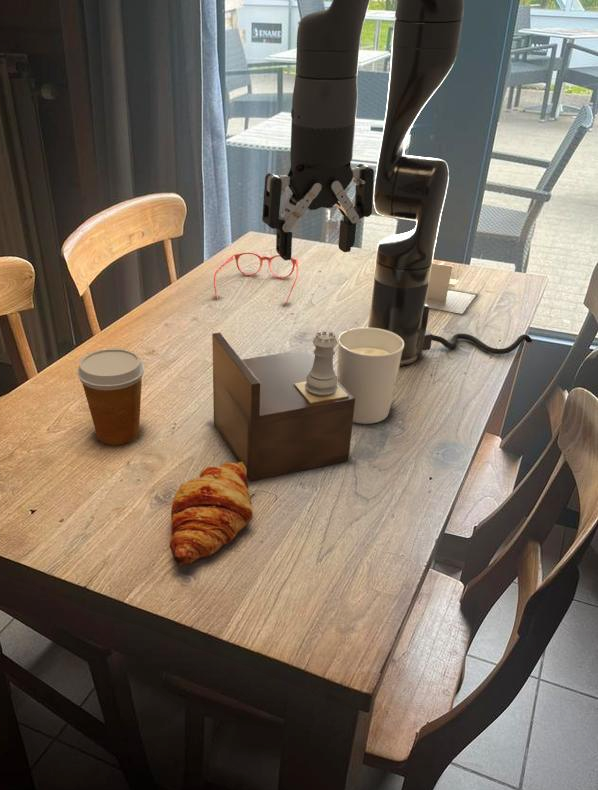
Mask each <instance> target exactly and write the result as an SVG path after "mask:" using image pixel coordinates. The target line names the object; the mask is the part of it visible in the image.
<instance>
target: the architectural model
mask: <svg viewBox="0 0 598 790" xmlns="http://www.w3.org/2000/svg"><path fill="white" fill-rule="evenodd" d="M444 263H445V261H442V262H441V263H435V262H432V266H431V273H430V279H429V285H428V291H427V297H426V305H427V306H428V307H429V309H430V308H431V309H435V310H439V311H440V310H441V311H445V312H450V313H456V314H460V315H463V313H465V311H466V309H467V308H468V306H469V305H470V304H471V302H472V301H473V300H474V299H475V297H476V294H472V293H466V292H461V291H455V290H449V287H453V288H455V287H456V286H457V285H458V283H459V282H460V280H459V279H456V278H455V279H454V278H451V276H452V270H453V265H447V264H444Z"/></svg>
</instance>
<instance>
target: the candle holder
mask: <svg viewBox="0 0 598 790" xmlns="http://www.w3.org/2000/svg"><path fill="white" fill-rule="evenodd" d="M403 349H404V341H403V339H402V338H401V337H400V336H398V335H397V334H395V333H393V332H390V331H387V330H384V329H379V328H369V327H368V326H367V327H366V326H365V327H364V326H363V327H355V328H350V329H347V330H345V331H343V332H342V333H340V334H339V336H338V337H337V365H336V376H337V381H338V382H339V383H340V384H341V385H342V386H343V387H344V388H345V389H346V390H347V391H348V392H349V393H350V394H351V395H352V396H353V397H354V398H355V406H354V415H353V423H356V424H361V425H362V424H363V425H369V424H370V425H371V424H376V423H380V422H382V421H384V420H385V419H387V417H388V416H389V415H390V411H391V407H392V404H393V403H392V402H393V398H394V394H395V388H396V383H397V380H398V374H399V369H400V366H399V365H400V361H401V356H402V352H403Z"/></svg>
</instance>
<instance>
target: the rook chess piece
mask: <svg viewBox="0 0 598 790" xmlns="http://www.w3.org/2000/svg"><path fill="white" fill-rule="evenodd" d="M312 344H313V346H314V347H315V349H314V350H313V351H312V352H313V354H314V357H315V358H314V363H313V367H312V370H311V371H310V373H309V374H308V376H307V377H306V384H305V388H306V389H307V390H308V391H309V392H310V393H311V394H313V395H317V396H328V395H331V394H333V393H334V392H335V391H336V390H337V388H338V387H337V382H338V381H337V374H336V372H335V371H334V355H335V354H336V352H335V350H334V348H335V347H336V346H338V339H336V334H334V332H332V331H329V332H328V334H327V330H322V332H321V331H318V332H316V333H315V337H314V338H313V339H312Z"/></svg>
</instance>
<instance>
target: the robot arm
mask: <svg viewBox="0 0 598 790" xmlns="http://www.w3.org/2000/svg"><path fill="white" fill-rule="evenodd" d="M370 2H371V0H332V1H331V4H330V6H329V7H328V8H327V9H323V10H320V11H315V12H312V13H308V14H306V15H305V16H304V15H303V17H301V19H300V20H299V24H298V26H297V31H296V32H297V33H296V59H295V75H294V76H295V77H294V85H293V92H292V101H291V102H292V103H291V110H290V117H291V127H290V129H291V130H290V151H289V153H290V154H289V157H290V169H289V171H288V174H286V175H275V174H274V173H272V172H269V173H267V174H266V175H265V177H264V187H263V188H264V190H263V203H262V215H261V216H262V218H261V219H262V220H261V221H262V222H263V223H264V224H265V225H266V226H268V227H269V228H270V229H272V230H276V233H275V234H276V236H275V237H276V238H275V241H276V243H275V251H276V253H277V255H280V256H279V257H280V258H281V259H282V260H284V261H291V258H292V252H293V251H292V249H293V247H292V246H293V231H291V230H292V228H293V227H294V225H295V224H296V222H298V219H300V218H302V217H303V215H304V214H305V213H306V211H307V210H309V211H315V210H319V209H321V208H324V209H331V208H334V207H336V209H337V210H338V212H339V214H340V215H341V216H342V218H343V219H340V221H339V222H340V223H339V233H338V234H339V235H338V249H339V250H340V251H341V252H343V253H350V252H351V250H352V248H354V245H355V243H356V232H357V231H356V230H357V223H358V222H359V220H361V219H363V218H364V217H365V218H369V217H370V216H371V215H372V213H373V205H374V209H375V212H376V213H377V214H378V215H379V216H383V217H389V218H393V219H394V218H395V219H400V220H401V219H402V220H406V221H407V220H409V221H414V222H416V223H415V224H416V225H415V227H414V228H413V229H412V230H410V231H407V232H403V233H398V234H393V235H390V236H387V237H385V238H382V240H380V241H379V242H378V244H377V249H376V254H375V263H374V273H373V279H372V280H373V281H372V290H371V297H370V306H369V313H368V323H367V327H369V328H379V329H384V330H387V331H390V332H393V333H395V334H397V335H398V336H400V337H401V338H402V339H403V341H404V349H403V352H402V356H401V361H400V365H399V367H401V366H406V365H409V364H412V363H414V362H415V361H417V359H422V356H423V352H424V351H429V350H431V346H432V342H433V341H434V342H437V343H440V344H441V345H442V346H444V348H447V349H454V348H455V347H456V346H457V340H461V339H462V340H466V341H469V342H471V343H473V344H475V345H476V346H477V347H478V348H480V349H481V350H483V351H485V352H487V353H490V354H494V355H505V354H509V353H511V352H513V351H514V350H516V349H517V348H518V347H519V346H520V344H522V342H523V341H525V342H526V343H532V342H533V340H532V338H531V336H529V335H528V334H520V336H518V337H517V339H515V341H514V342H513V343H512V344H510V345H509V346H507V347H505V348H504V347H503V348H496V347H491V346H489V345H487V344H486V343H484V342H483V341H482V340H480V339H479V338H477V337H476V336H473V335H472V334H469V333H456V334H454V335H453V336H452V337H451V340H450V342H449V340H447V339H446V338H445V337H442V336H439V335H434V334H433V333H432V332H430V331H429V330H428V329H427V327H428V321H429V315H430V308H429V307H428V306H427V305H426V297H427V291H428V285H429V279H430V273H431V266H432V263H433V261H434V255H435V249H436V244H437V240H438V239H437V238H438V234H439V229H440V223H441V218H442V213H443V209H444V205H445V200H446V196H447V192H448V191H447V190H448V187H449V179H450V175H449V174H450V173H449V170H450V169H449V166H448V163H447V162H446V161H445V160H443V159H440V158H436V157H435V158H434V157H427V156H426V157H424V156H416V155H407V154H405V151H406V150H405V149H406V144H407V140H408V137H409V134H410V133H411V129H412V127H413V125H414V123H415V121H416V120H417V118H418V116H420V113H421V111H422V110H423V109H424V107H426V104H427V103H428V102H429V100H430V99H431V98H432V96H433V95H434V94H435V93H436V91H437V90H438V88H439V87H440V86H441V85H442V83H443V82H444V81H445V79H446V78H447V76H448V74H450V71H451V70H452V68H453V66H454V64H455V62H456V60H457V56H458V52H459V45H460V41H461V34H462V33H461V32H462V25H463V18H464V12H465V0H396V5H395V13H394V22H393V31H392V41H391V53H390V66H389V67H390V68H389V69H390V70H389V78H388V79H389V80H388V88H387V89H388V91H387V101H386V110H385V116H384V124H383V130H382V135H381V140H380V141H381V142H380V148H379V154H378V160H377V165H376V172H375V170H374V168H373V167H370V166H369V165H366V164H363V163H359V164H358V165H357V166H356V167H352V165H351V163H352V159H353V158H354V157H353V155H354V144H355V134H356V133H355V131H356V121H357V120H356V119H357V110H358V109H357V108H358V73H359V72H358V70H359V60H360V59H359V58H360V48H361V46H360V45H361V36H362V32H363V27H364V23H365V20H366V17H367V13H368V9H369V6H370ZM352 182H353V184H354V185H355V193H354V199H355V200H354V204H353V203H352V201H351V199H350V197H349V196H348V194H347V193H346V190H347V189H348V188H349V186H350V184H351V183H352ZM287 187H288V188H289V190H290V191H291V193H290V194H289V195H288V197H287V199H286V200H285V201H284V204H283V207H282V209H281V198H282V195H283V194H285V190H286V188H287ZM280 209H281V211H280Z"/></svg>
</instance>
